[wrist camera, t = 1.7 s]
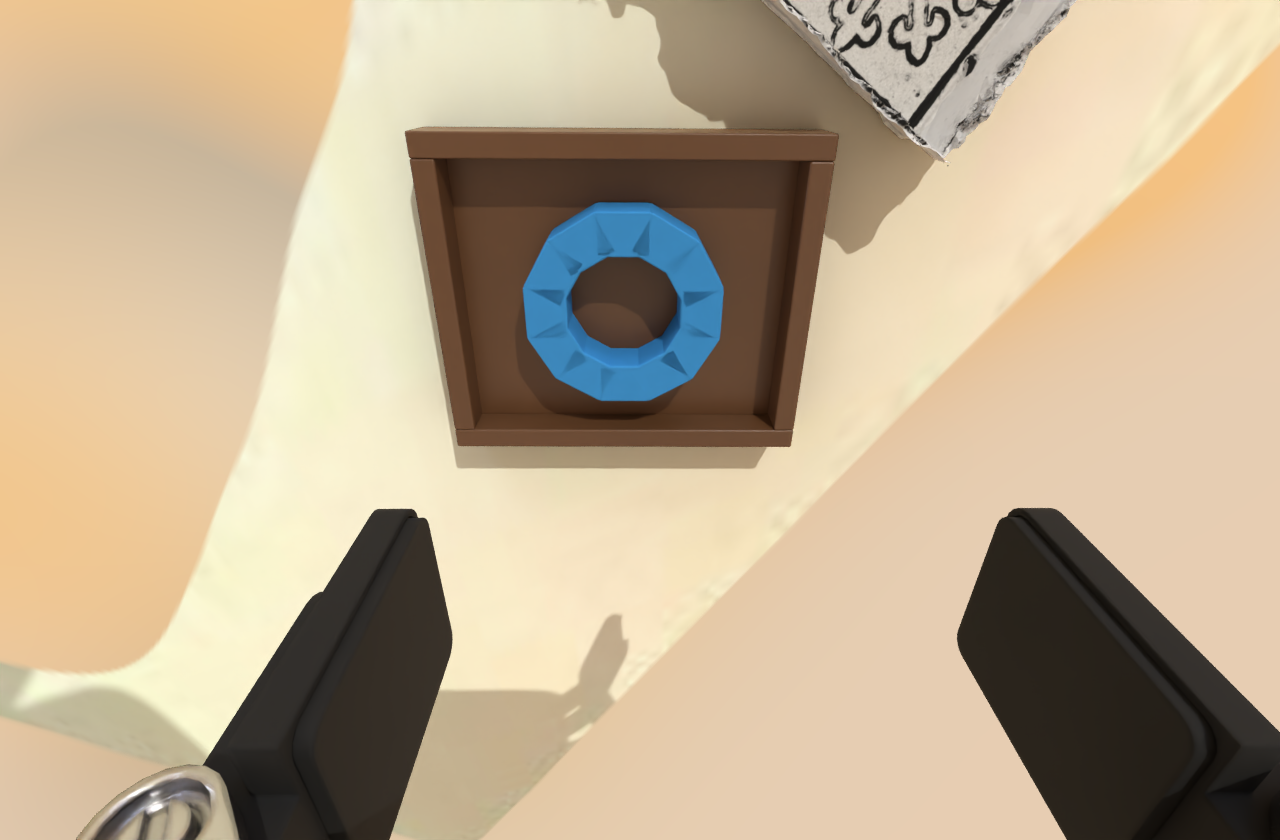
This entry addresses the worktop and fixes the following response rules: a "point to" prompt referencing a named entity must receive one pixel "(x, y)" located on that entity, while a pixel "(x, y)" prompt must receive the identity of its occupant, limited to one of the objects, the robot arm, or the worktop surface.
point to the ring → (623, 236)
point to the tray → (622, 274)
